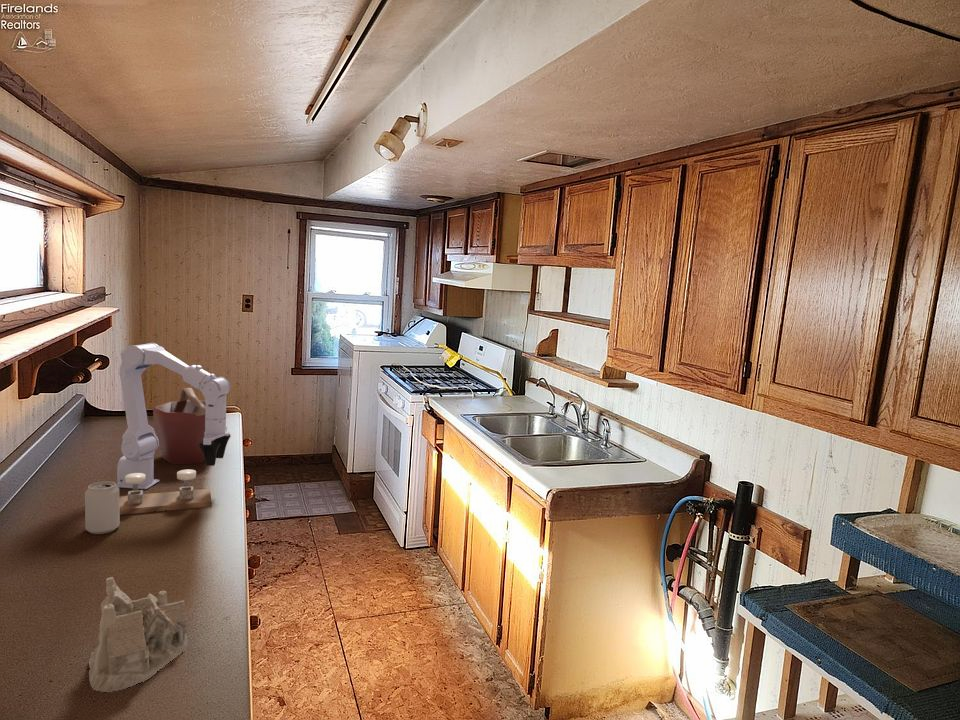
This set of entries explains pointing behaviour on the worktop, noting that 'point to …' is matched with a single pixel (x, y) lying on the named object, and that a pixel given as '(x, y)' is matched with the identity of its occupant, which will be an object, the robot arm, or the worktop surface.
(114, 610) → the ceramic cottage
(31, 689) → the worktop surface
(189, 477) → the plunger
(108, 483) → the can
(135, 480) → the plunger
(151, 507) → the stand
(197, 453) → the bucket
